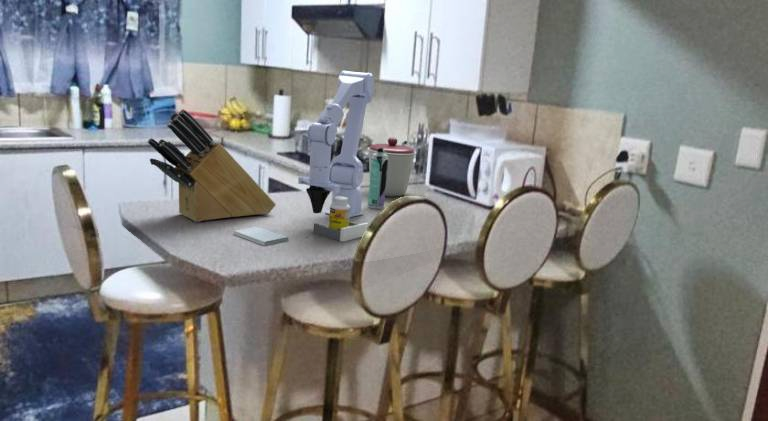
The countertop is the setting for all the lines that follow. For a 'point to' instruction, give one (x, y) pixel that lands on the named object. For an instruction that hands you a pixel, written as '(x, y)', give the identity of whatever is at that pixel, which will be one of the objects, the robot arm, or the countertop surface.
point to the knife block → (208, 175)
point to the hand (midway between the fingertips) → (317, 212)
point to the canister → (395, 166)
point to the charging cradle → (342, 231)
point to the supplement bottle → (339, 213)
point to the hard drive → (260, 236)
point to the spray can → (378, 179)
